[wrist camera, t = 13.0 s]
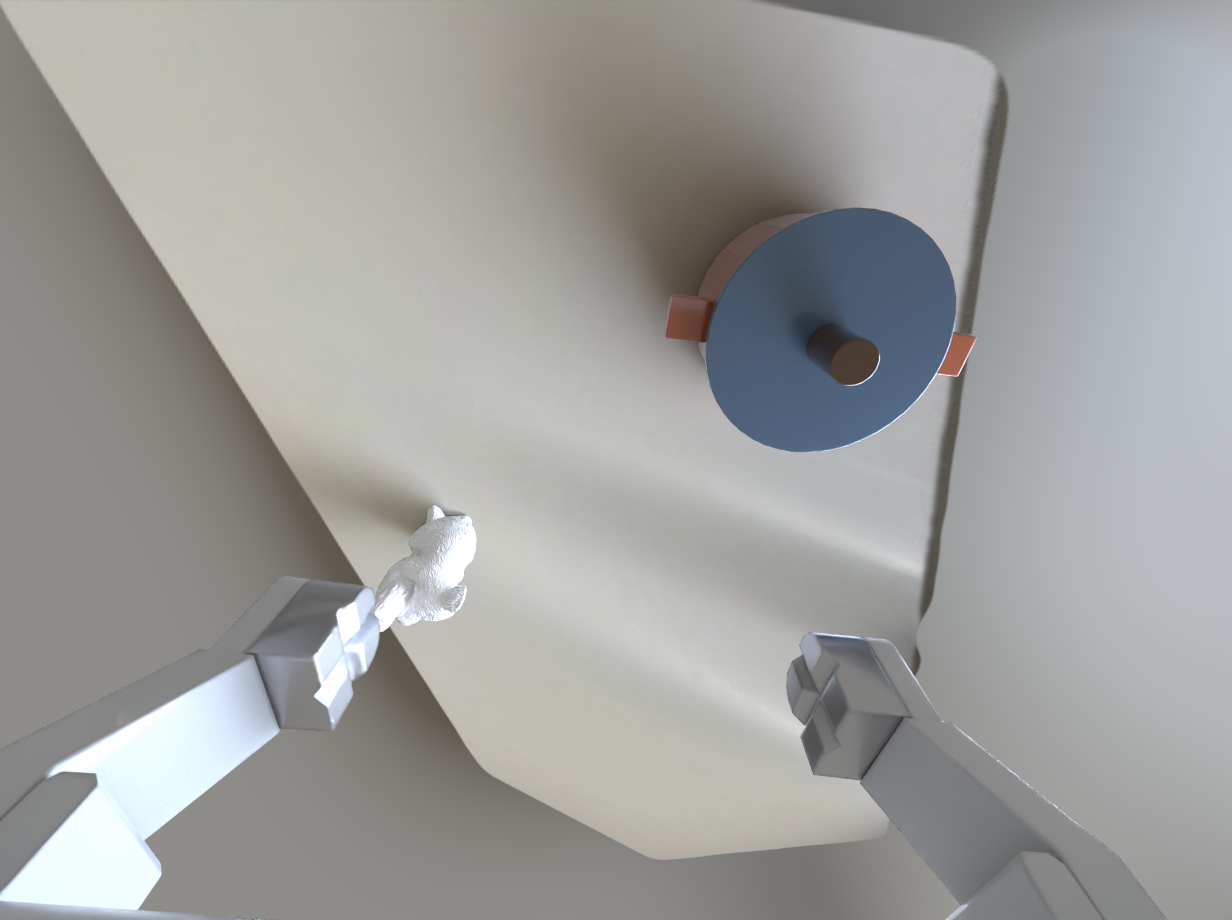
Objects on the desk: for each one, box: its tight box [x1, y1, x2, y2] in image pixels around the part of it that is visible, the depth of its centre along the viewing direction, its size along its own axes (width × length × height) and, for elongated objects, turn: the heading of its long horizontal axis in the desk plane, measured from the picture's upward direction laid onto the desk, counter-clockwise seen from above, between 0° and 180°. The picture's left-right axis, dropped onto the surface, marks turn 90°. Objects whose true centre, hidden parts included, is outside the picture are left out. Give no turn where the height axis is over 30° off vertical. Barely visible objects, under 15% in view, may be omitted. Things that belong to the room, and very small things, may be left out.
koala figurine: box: [371, 505, 476, 632], centre depth 38 cm, size 8×7×12 cm
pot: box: [664, 213, 976, 377], centre depth 30 cm, size 13×18×8 cm
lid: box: [705, 208, 956, 452], centre depth 25 cm, size 14×14×5 cm
